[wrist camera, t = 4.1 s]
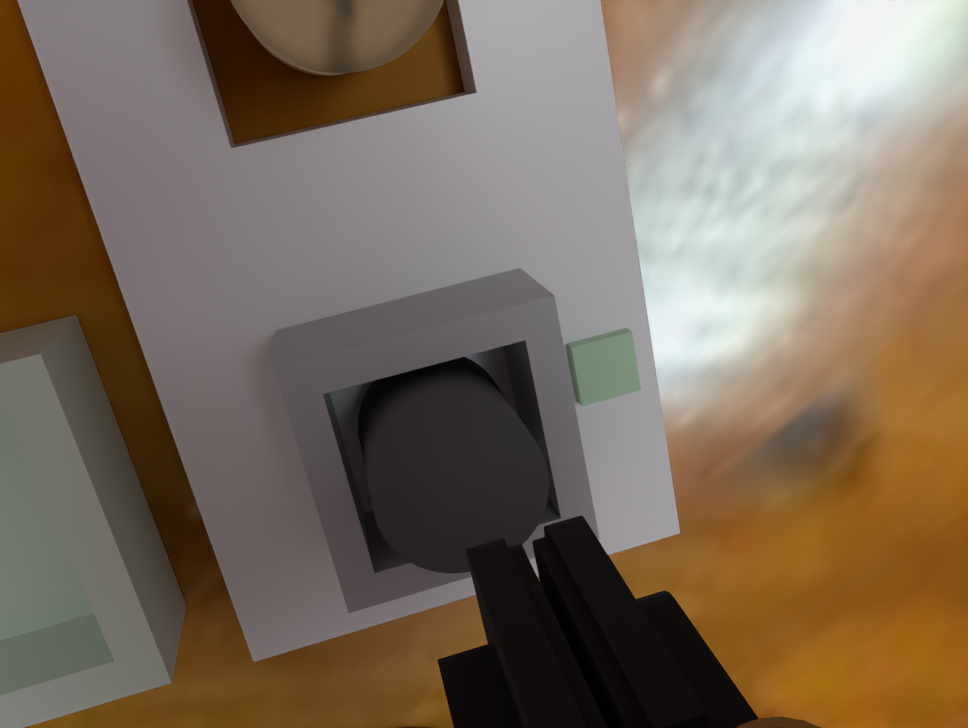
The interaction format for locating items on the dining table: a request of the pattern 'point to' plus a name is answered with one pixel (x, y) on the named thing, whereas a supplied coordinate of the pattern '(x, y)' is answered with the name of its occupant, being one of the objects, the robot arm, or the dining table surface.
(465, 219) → the checker
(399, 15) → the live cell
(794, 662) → the dining table surface
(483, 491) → the test button
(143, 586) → the pale green trough
